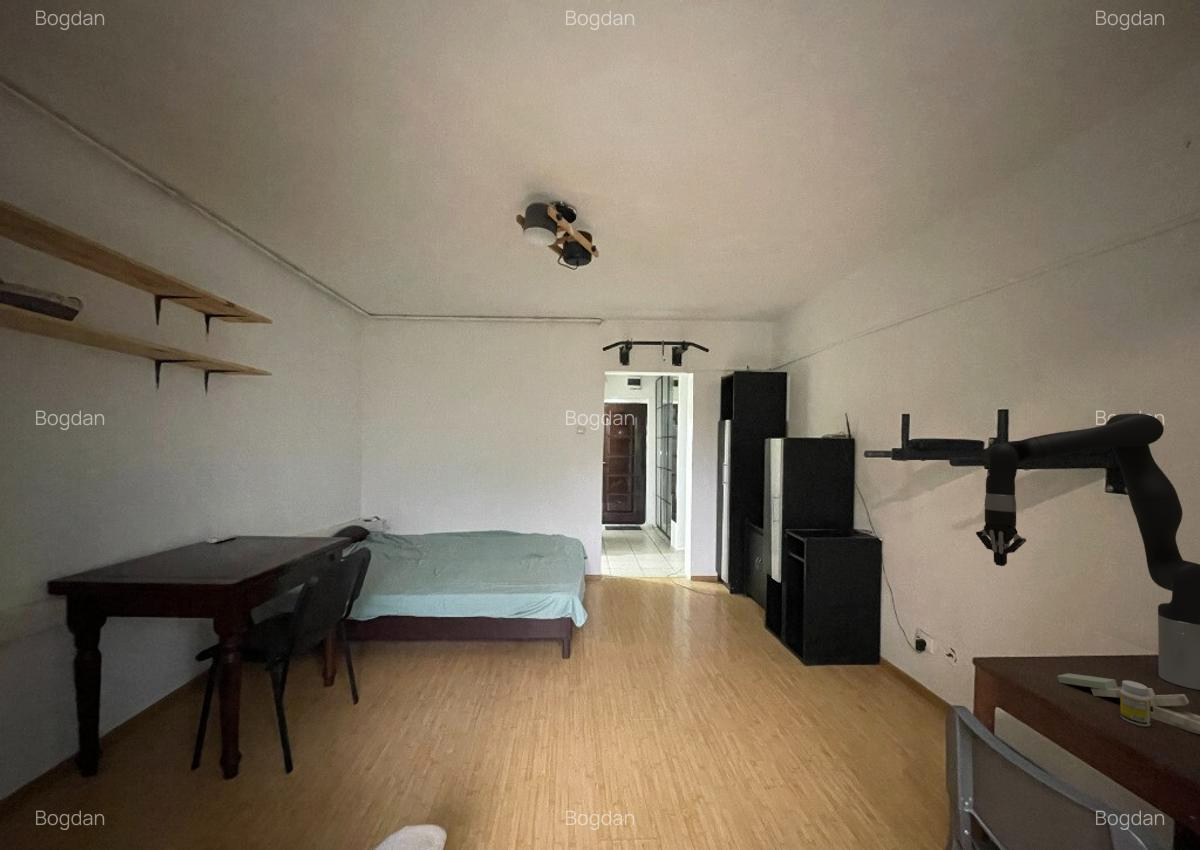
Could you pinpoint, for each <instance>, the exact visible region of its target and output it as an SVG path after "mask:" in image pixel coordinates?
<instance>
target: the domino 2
mask: <svg viewBox="0 0 1200 850" xmlns="http://www.w3.org/2000/svg"><path fill="white" fill-rule="evenodd" d="M1147 688H1148V694H1147V695H1148V696H1149V697H1153V696H1155V695H1156V693H1155V692H1154V689H1153V688H1152V687H1147ZM1121 689H1123V688H1122V686H1117V687H1114V688H1110V689H1107V690H1106V689H1099V688H1093V687H1090V690H1091V692H1092V695H1093V696H1094V697H1095V696H1096V697H1109V698H1110V697H1111V698H1120V690H1121Z"/></svg>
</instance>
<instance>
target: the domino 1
mask: <svg viewBox="0 0 1200 850" xmlns="http://www.w3.org/2000/svg"><path fill="white" fill-rule="evenodd" d="M1056 678H1057V682H1058V683H1060V684H1067V685H1074V686H1079V687H1087V688H1088V687H1089V688H1099V689H1106V690H1107V689H1110V688H1114V687H1118V684H1117V681H1116V679H1112V678H1105V677H1098V676H1092V675H1082V674H1075V673H1064V674H1059V675H1056Z"/></svg>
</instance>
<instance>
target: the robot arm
mask: <svg viewBox="0 0 1200 850" xmlns="http://www.w3.org/2000/svg"><path fill="white" fill-rule="evenodd" d="M1164 428H1165V427H1164V424H1163V423H1162V421H1161V420H1159V418H1157V417H1155V416H1153V415H1149V414H1147V413H1120V414H1116V415H1114V416H1112V417H1110V418H1109V419H1107V421H1106V423H1105V424H1104V425H1100V426H1095V427H1089V428H1083V429H1078V430H1069V431H1060V432H1053V433H1048V434H1047V433H1046V434H1043V435H1038V436H1037V435H1036V436H1033V437H1032V436H1031V437H1028V438H1024V439H1020V440H1015V441H1008V442H1001V443H996V444H991V445H990V446H987V447H986V448H985V449H984V450H983V452H982V453H983V454H982V457H983V461H985V462H986V463H987V464H988V465H989V469H988V471H989V474H988V475H987V476H986V479H985V496H984V522H985V524H984V526H983V529H981V530H980V531H975V534H976V536H977V538H979V540H980V541H981V544H983V545H984V547H985V548H986V550H990V551H992V552H993V562H994V564H995V565H996V566H999V567H1005V566H1006V565H1007V564H1008V554H1011V553H1015V552H1017V550H1018V549H1019V548H1021V547H1022V546H1023V545H1024V544H1025V543H1026V542H1027V539H1026V538H1025V537H1022V536H1020V535H1019V534H1018V530H1017V528H1016V527H1017V501H1016V500H1017V499H1016V481H1015V480H1016V477H1017V473H1018V466H1019V463H1022V462H1033V461H1034V462H1035V461H1041V460H1047V459H1052V458H1053V459H1054V458H1057V457H1062V456H1067V455H1073V454H1076V453H1081V452H1083V453H1084V452H1087V451H1095V450H1098V449H1099V450H1100V449H1108V448H1111V449H1112V451H1113V453H1114V455H1115V457H1116V459H1117V461H1118V465H1119V468H1120V471H1121V475H1122V478H1123V481H1124V486H1125V487H1126V492H1127V495H1128V498H1129V501H1130V505H1131V508H1132V511H1133V514H1134V516H1135V519H1136V523H1137V526H1138V528H1139V529H1138V530H1139V532H1140V535H1141V538H1142V543H1143V547H1144V554H1145V558H1146V565H1147V569H1148V573H1149V574H1148V575H1150V578H1151V580H1152V581H1153V583H1155V584H1156V585H1157V586H1159V587H1160V588H1162V589H1165V590H1167V591H1170V592H1172V593H1171V601H1170V602H1162V603H1160V604H1158V606H1157V629H1158V631H1157V633H1158V634H1157V635H1158V636H1157V637H1158V639H1157V640H1158V641H1157V644H1158V646H1157V647H1158V650H1157V651H1158V677H1159V678H1161V679H1162V680H1164V681H1167V683H1168V682H1169V683H1170V684H1171V683H1172V684H1174V685H1177V686H1180V687H1183V688H1188V689H1192V690H1198V691H1200V563H1197V562H1192V561H1189V560H1184V559H1183V558H1182V556H1181V553H1180V549H1179V547H1178V544H1177V543H1178V542H1177V533H1178V530H1179V527H1180V525H1181V523H1182V519H1183V508H1182V505H1181V501H1180V499H1179V496H1178V492H1177V490H1176V488H1175V485H1173V483H1172V482H1171V480H1170V479H1169V478H1168V476H1167V475H1166V474H1165V473H1164V472H1163V470H1162V469H1161V468H1160V466H1159V465H1158V464H1157V462H1156V461H1155V459H1154V457H1153V454H1152V452H1151V448H1150V445H1151V444H1154V443H1155V442H1157V441H1158V440H1160V438H1161V437H1162V436H1163V434H1164ZM1012 540H1013V542H1012ZM1011 542H1012V543H1011Z"/></svg>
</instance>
